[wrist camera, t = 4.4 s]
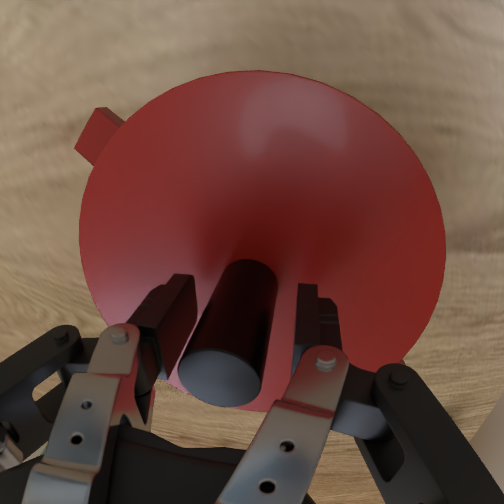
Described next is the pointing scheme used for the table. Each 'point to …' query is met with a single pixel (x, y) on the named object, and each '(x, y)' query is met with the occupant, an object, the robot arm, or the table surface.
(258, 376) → the pot lid
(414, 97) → the table surface
